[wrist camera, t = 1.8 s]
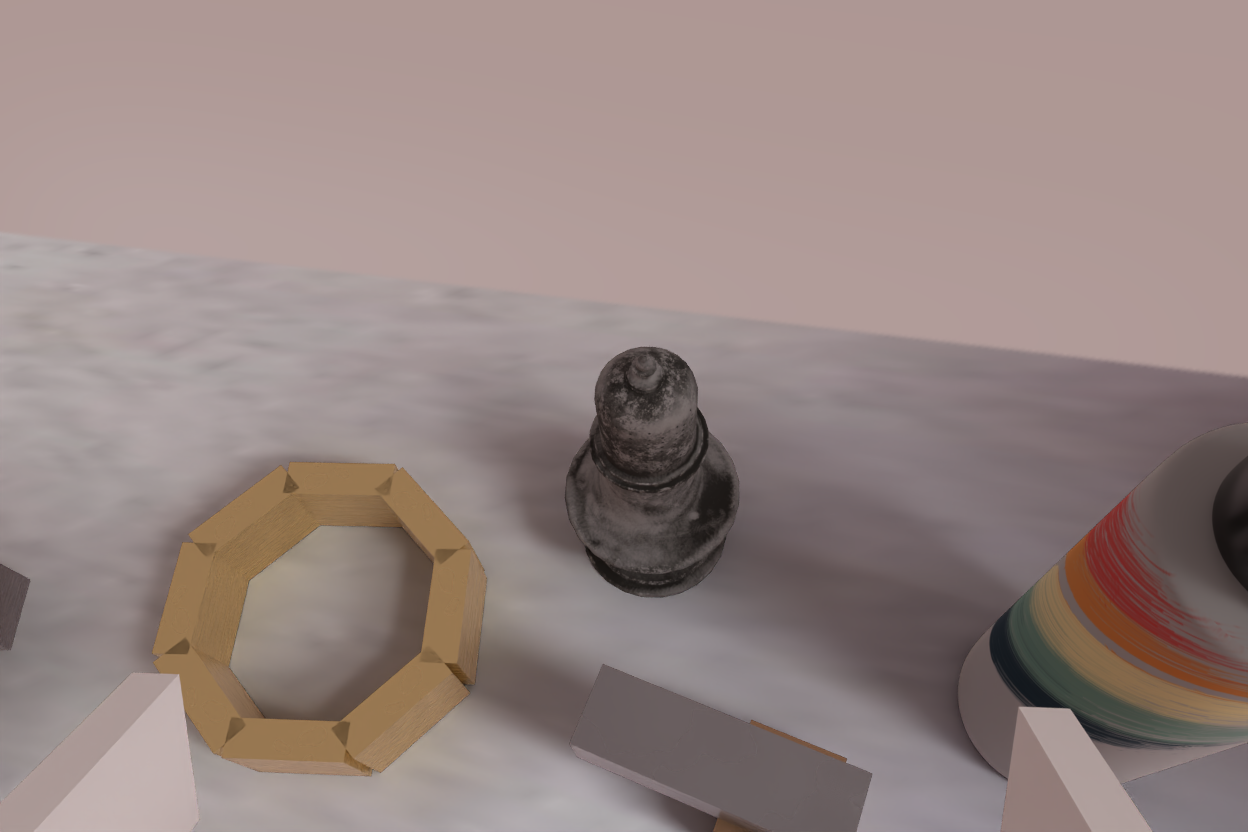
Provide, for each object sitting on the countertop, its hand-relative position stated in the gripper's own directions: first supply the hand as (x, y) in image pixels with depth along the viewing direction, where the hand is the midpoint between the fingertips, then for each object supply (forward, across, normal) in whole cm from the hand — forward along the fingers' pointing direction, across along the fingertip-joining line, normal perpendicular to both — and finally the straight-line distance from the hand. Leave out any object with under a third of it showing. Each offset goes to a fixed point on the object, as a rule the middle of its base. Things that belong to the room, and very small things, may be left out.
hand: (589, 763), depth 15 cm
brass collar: (+17, -10, -8) cm, 21 cm away
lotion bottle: (+16, +14, -9) cm, 22 cm away
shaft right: (+14, +3, -11) cm, 18 cm away
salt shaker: (+20, +1, -5) cm, 21 cm away
